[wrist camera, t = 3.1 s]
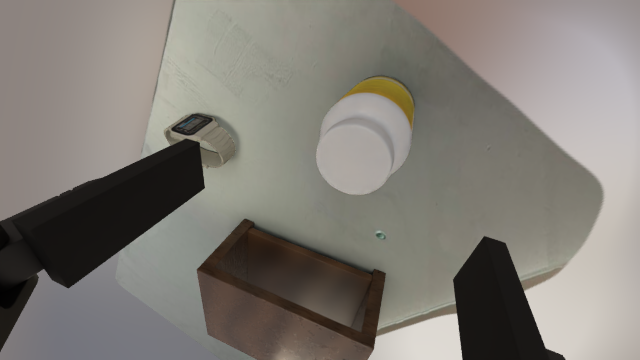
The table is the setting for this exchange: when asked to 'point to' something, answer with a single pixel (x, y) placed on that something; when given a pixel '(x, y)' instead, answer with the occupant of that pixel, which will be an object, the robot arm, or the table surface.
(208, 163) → the wristwatch
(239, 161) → the table surface
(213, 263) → the shelf
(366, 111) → the pill bottle
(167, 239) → the table surface
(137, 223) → the robot arm
